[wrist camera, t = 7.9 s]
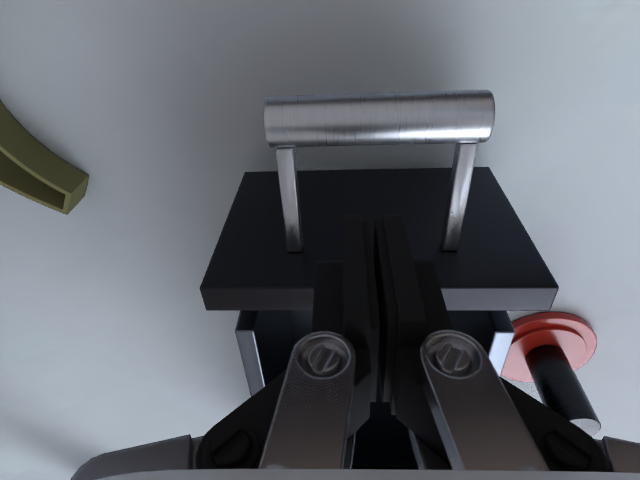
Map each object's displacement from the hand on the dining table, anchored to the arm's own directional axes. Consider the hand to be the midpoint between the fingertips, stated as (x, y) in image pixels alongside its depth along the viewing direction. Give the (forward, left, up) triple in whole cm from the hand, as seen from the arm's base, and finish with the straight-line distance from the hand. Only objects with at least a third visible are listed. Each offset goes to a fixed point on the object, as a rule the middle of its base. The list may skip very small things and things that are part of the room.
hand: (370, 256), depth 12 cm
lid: (+20, -9, -11) cm, 25 cm away
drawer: (+4, -6, -10) cm, 13 cm away
